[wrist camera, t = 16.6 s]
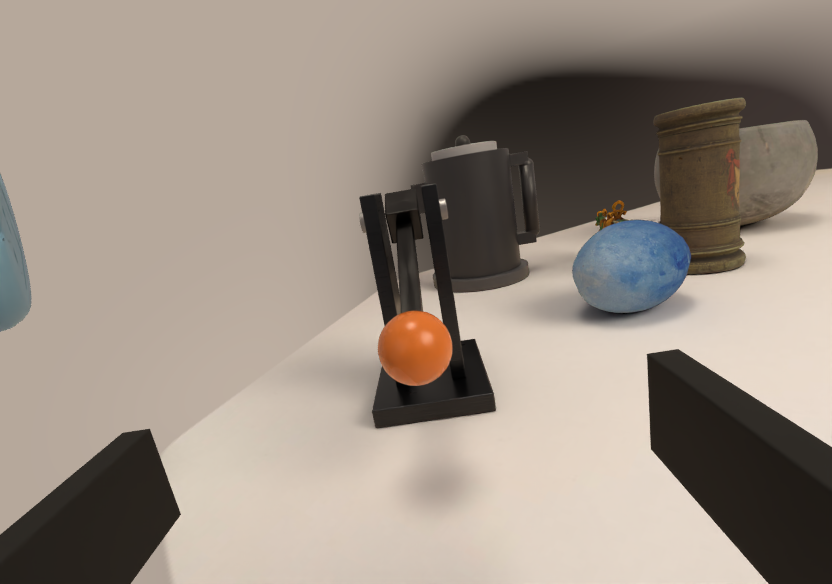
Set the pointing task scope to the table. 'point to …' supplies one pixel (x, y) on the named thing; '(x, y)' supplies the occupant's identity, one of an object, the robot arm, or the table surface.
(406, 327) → the switch
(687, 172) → the container
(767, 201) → the bowl
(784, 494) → the robot arm
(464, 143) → the kettle
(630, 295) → the egg
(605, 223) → the figurine
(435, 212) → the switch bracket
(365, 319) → the table surface
